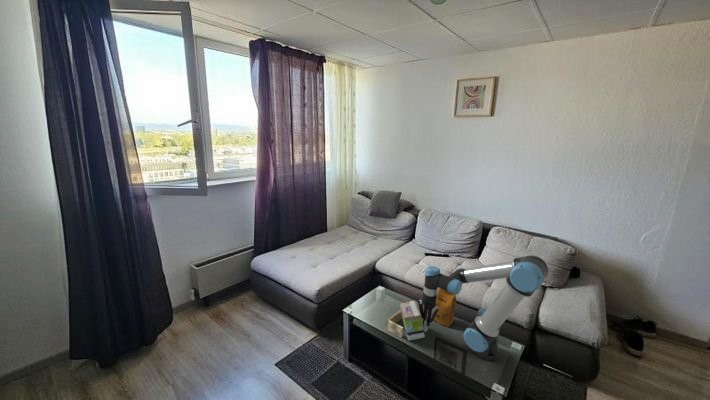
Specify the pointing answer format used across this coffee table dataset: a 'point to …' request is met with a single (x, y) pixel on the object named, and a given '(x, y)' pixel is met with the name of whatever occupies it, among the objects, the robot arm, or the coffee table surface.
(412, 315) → the tea box
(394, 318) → the birch corner fence
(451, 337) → the coffee table surface
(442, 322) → the coffee package
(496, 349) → the robot arm
